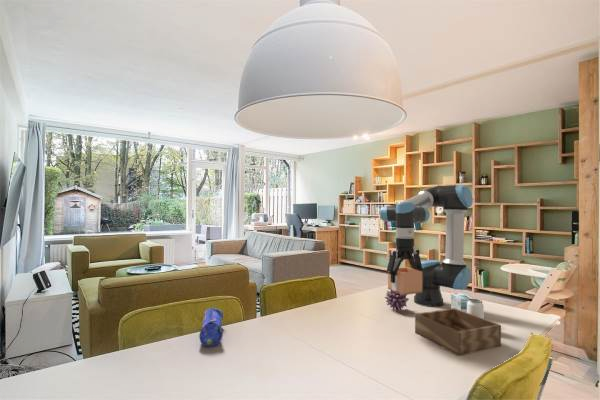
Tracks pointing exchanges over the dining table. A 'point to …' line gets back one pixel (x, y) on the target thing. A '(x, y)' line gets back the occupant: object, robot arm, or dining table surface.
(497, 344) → the large crate
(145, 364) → the dining table surface
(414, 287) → the small crate
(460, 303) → the light bulb box
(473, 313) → the can
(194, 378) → the dining table surface
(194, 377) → the dining table surface
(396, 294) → the purple spiky ball
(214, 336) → the pencil case
